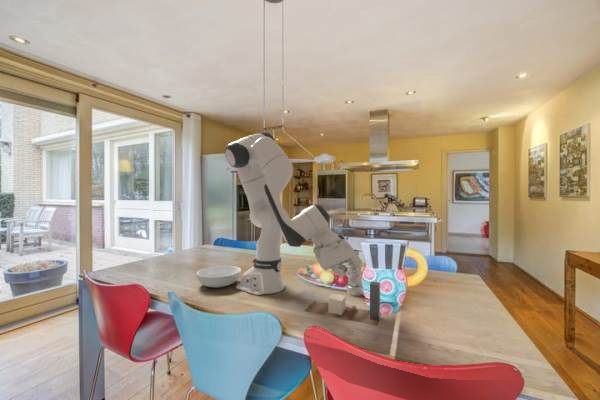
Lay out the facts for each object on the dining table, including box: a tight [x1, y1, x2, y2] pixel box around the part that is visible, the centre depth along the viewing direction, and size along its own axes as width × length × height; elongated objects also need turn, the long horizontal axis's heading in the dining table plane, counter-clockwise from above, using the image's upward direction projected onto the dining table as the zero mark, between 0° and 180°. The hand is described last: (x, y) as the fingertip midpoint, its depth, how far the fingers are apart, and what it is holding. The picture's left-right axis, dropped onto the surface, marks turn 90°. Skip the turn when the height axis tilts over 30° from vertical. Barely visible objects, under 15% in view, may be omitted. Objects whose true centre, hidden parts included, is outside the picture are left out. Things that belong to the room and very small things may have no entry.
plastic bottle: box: [346, 249, 363, 297], centre depth 113 cm, size 6×7×20 cm
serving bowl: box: [196, 265, 242, 289], centre depth 128 cm, size 21×21×7 cm
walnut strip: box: [304, 281, 382, 326], centre depth 95 cm, size 26×10×13 cm, turn 66°
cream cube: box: [327, 293, 347, 315], centre depth 95 cm, size 5×5×5 cm
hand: (350, 273), depth 94 cm, fingers open, 8 cm apart
